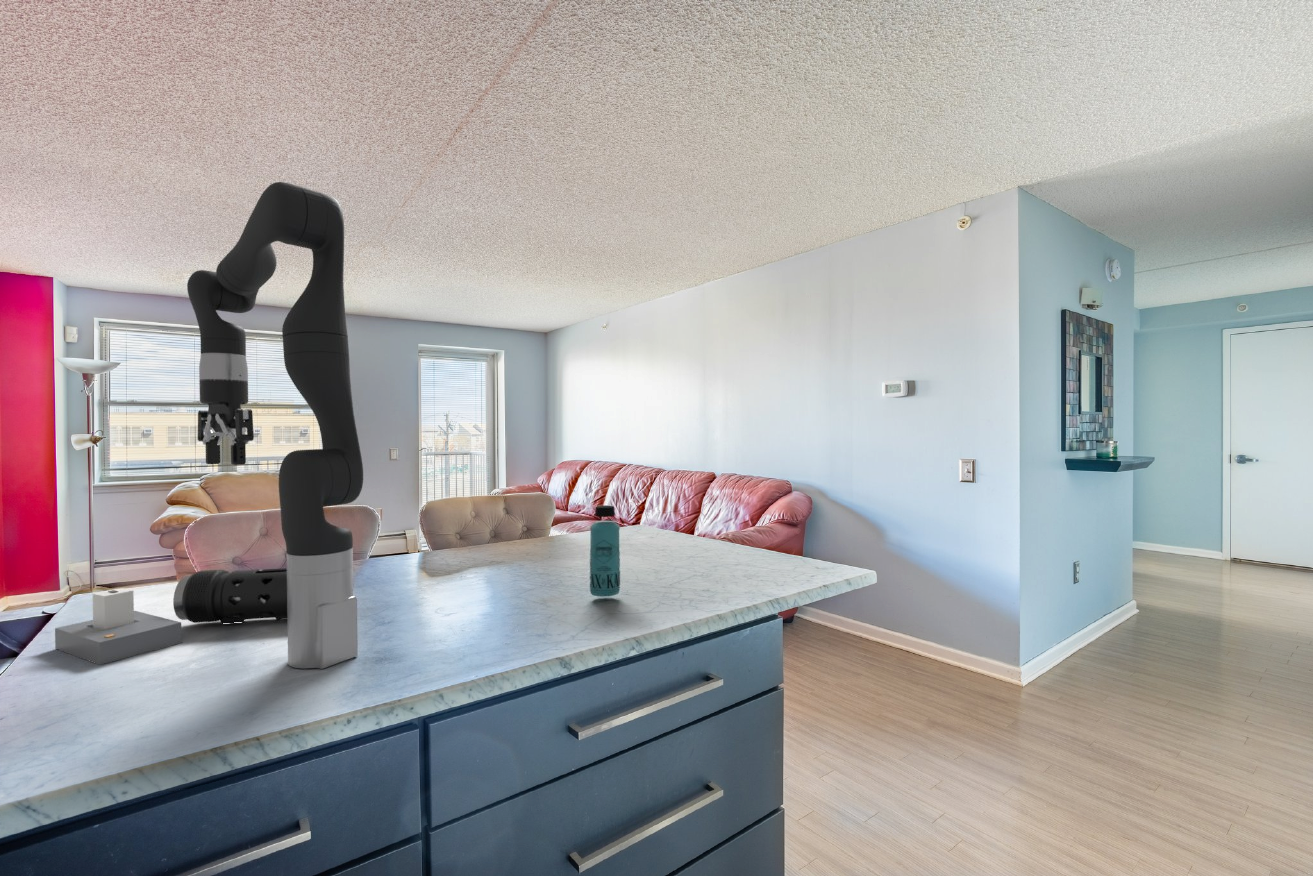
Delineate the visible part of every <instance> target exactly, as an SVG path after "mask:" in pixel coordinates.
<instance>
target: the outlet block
mask: <svg viewBox="0 0 1313 876" xmlns="http://www.w3.org/2000/svg"><path fill="white" fill-rule="evenodd" d="M54 637H55V638H54V643H55V648H54V649H55V650H57V649H59V650H58V651H60V650H61V651H60V652H63V651H64V652H63V653H65V652H66V654H68V653H69V655H71V654H73V655H72V656H74V655H75V656H74V657H77V656H79V657H80V659H82V658H84V659H83V660H85V659H86V661H88V660H90V661H89V662H91V661H93V662H95V663H94V664H96V663H98V664H97V665H99V666H101V665H104V663H105V664H108V663H111V661H113V662H115V661H119V660H123V659H127V658H130V657H131V658H132V657H134V656H139V655H141V654H142V655H143V654H145V653H149V652H153V651H157V650H160V649H163V648H168V647H171V646H173V645H179V644H182V642H183V641H182V622H181V621H176V620H173V619H170V618H166V617H165V618H164V617H161V616H157V615H154V614H150V613H145V612H143V611H138V610H134V623H131V624H127V625H122V626H118V627H114V628H109V629H105V630H101V631H100V630H97V629H94V628H93V619H91V620H87V621H81V622H78V623H72V624H68V625H64V626H58V627H55V628H54ZM170 645H171V646H170ZM156 649H157V650H156ZM79 657H78V658H79ZM93 662H92V663H93Z"/></svg>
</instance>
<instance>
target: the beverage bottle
mask: <svg viewBox="0 0 1313 876" xmlns="http://www.w3.org/2000/svg"><path fill="white" fill-rule="evenodd" d="M615 514H616V513H615V507H614V506H613V505H598V506H595V515H594V517H596V518H597V517H599V518H608V517H615ZM620 528H621V527H620V525H619V524H618V523H617V522H616V521H613V520H598V521H597V520H596V521H594V523H592V524H591V525H590V527H589V529H590V544H589V545H590V551H589V568H588V569H589V574H588V575H589V592H590V595H592V596H595V597H604V598H605V597H612V596H616V595H618V594H619V593H620V589H621V570H620V569H621V562H620V561H621V557H620V556H621V553H620V552H621V551H620Z"/></svg>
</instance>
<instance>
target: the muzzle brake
mask: <svg viewBox="0 0 1313 876" xmlns="http://www.w3.org/2000/svg"><path fill="white" fill-rule="evenodd" d="M172 603H173V611H174V613H175V616H176V617H177V618H178V619H179V620H181V621H187V620H188V621H189V622H191V623H195V624H196V623H197V624H198V623H211V622H212V623H213V622H219V621H220V623H221V625H222V624H223V623H234V622H243V621H244V620H245V621H246V620H254V619H255V620H258V619H270V618H271V619H272V618H273V619H276V620H277V621H281V620H282V619H283V620H284V619H287V567H286V568H284V567H283V568H271V569H270V568H267V569H262V568H261V569H255V568H254V569H241V570H240V569H239V570H233V571H232V572H230V571H228V570H225V569H210V570H209V569H206V570H198V571H196V572H193V574H186V575H183V576H182V577H181V578H180V579H179V581H178V582H177V585H176V587H175V589H174V593H173V601H172ZM280 619H281V620H280ZM245 621H244V622H245ZM244 622H243V623H244Z"/></svg>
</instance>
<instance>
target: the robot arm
mask: <svg viewBox="0 0 1313 876" xmlns="http://www.w3.org/2000/svg"><path fill="white" fill-rule="evenodd" d="M344 219H345V217H344V213H343V210H342V205H341V204H340V202H339V201H338V200H337V199H336V198H335V197H333V196H331V195H328V194H326V193H323V192H320V191H316V190H313V189H310V188H306V187H303V186H300V185H296V184H293V183H289V182H283V181H278V182H277V181H276V182H273V183H271V184H270V185H268V186H267V187H266V188H265V190H264V191H263V192H262V194H261V195H260V197H259V198H258V199H257V202H256V204H255V206H254V208H253V210H252V212H251V214H250V215H249V218H248V220H247V221H246V224H245V226H244V229H243V231H242V233H241V235H240V237H239V239H238V241H237V242H236V244H235V245H234V246H233V248H232V249H230V250H229V252H228V253H227V254H226V255H224V257H223V258H222V260H220V262H218V265H216V269H215V270H216V271H212V270H205V269H203V270H202V269H200V270H196V271H195V272H193V273H191V275H190V276H189V277H188V280H187V285H186V287H187V288H186V289H187V294H188V298H189V302H190V303H191V306H192V309H193V311H194V314H195V318H196V320H197V321H196V322H197V324H198V325H197V326H198V330H199V334H200V335H199V336H200V357H199V366H198V371H199V372H198V373H199V374H198V375H199V376H198V378H199V379H198V380H199V402H200V403H201V404H203V405H207V406H208V410H207V409H206V410H204V409H203V410H198V412H197V441H198V442H202V445H205V463H206V465H220V463H221V445H220V443H221V441H222V438H223V437H225V436H226V437H228V440H229V441H230V464H231V465H233V466H236V465H237V466H242V465H245V464H247V461H246V460H247V459H246V458H247V457H246V456H247V455H246V454H247V453H246V448H247V447H246V445H247V444H248V443H249V442H252V441H253V440H254V439H255V435H254V421H253V418H254V417H253V410H252V409H251V408H242V406H241V405H243V406H244V405H247V404H248V403H249V369H248V368H249V367H248V362H247V349H246V346H247V342H246V341H247V339H246V337H247V336H246V330H245V329H244V328H243V327H242V326H240V325H237V324H235V323H232V322H228V321H227V320H224V319H222V318H221V316H220V315H219V313H218V312H217V311H220V312H226V313H234V314H245V313H247V312H250V311H252V310H253V309H254V307H255V305H256V301H257V296H258V293H259V290H260V288H262V287H263V286H264V285H265V284H266V283H267V282H268V281H269V280H270V279H271V278H272V277H273V275H274V274H275V272H276V269H277V257H276V253H275V250H274V248H273V246H272V244H273V243H275V242H280V243H282V244H286V245H290V246H294V247H298V248H299V247H300V248H305V249H310V250H311V252H312V262H313V263H312V269H311V276H310V279H309V281H308V283H307V285H306V287H305V289H304V290H303V291H302V293H301V294H300V296H299V297H298V299H296V302H295V303H294V305H293V306H292V307H291V309H290V310H289V312H288V314H287V315H286V317H285V319H284V320H283V323H282V324H283V325H282V327H281V331H282V332H281V333H282V334H281V335H282V348H283V349H282V350H283V362H284V367H285V370H286V373H287V375H288V376H289V378H290V380H291V382H292V383H293V385H294V387H295V388H296V389H297V391H298V393H299V394H300V395H301V397H302V398H303V399H304V401H305V402H306V403H307V404H308V406H309V407H310V409H311V411H312V413H313V415H314V416H315V419H316V421H317V424H318V427H319V433H320V437H321V445H322V447H321V448H319V449H317V448H315V449H314V448H313V449H312V448H311V449H298V450H297V449H296V450H293V451H291V452H289V453H287V454H286V456H284V458H283V460H282V462H281V465H280V467H279V471H278V497H279V505H280V506H279V507H280V518H281V520H280V521H281V532H282V535H283V539H284V541H285V548H286V549H285V550H286V553H285V554H286V568H287V618H286V619H287V620H286V621H287V622H286V624H287V664H288V666H290V667H291V668H294V669H295V668H296V669H325V668H327V667H330V666H334V665H336V664H339V663H341V662H344V661H347V660H349V659H353V658H354V657H355V658H356V657H358V655H359V651H358V650H359V649H358V645H359V644H358V643H359V642H358V641H359V640H358V638H359V637H358V636H359V635H358V599H357V597H356V596H355V595H354V548H353V545H354V544H353V541H354V540H353V533H352V531H351V530H350V529H349V528H347V527H346V528H345V527H341V526H338V525H337V526H336V525H333V524H331V523H329V522H328V520H327V519H326V516H325V512H324V511H325V510H324V508H327V507H333V506H342V505H347V504H351V503H353V502H354V501H355V500H357V499H358V498H359V496H360V495H361V492H362V489H363V484H364V467H363V464H364V463H363V460H362V459H363V458H362V453H361V447H360V442H359V437H358V431H357V430H358V429H357V425H356V419H355V415H354V414H355V413H354V406H353V405H354V403H353V395H352V384H351V373H350V371H351V370H350V350H349V349H350V348H349V339H348V338H349V337H348V327H347V318H346V307H345V306H346V305H345V288H344V287H345V286H344V276H345V275H344V274H345V273H344V268H345V267H344V266H345V221H344Z"/></svg>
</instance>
